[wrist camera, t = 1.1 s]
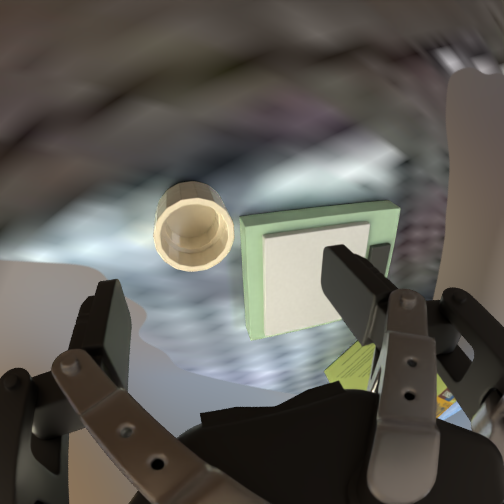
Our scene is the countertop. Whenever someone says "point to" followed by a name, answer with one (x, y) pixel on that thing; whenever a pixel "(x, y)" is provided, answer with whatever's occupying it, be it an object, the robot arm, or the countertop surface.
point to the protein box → (358, 371)
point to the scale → (306, 260)
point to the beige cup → (192, 227)
